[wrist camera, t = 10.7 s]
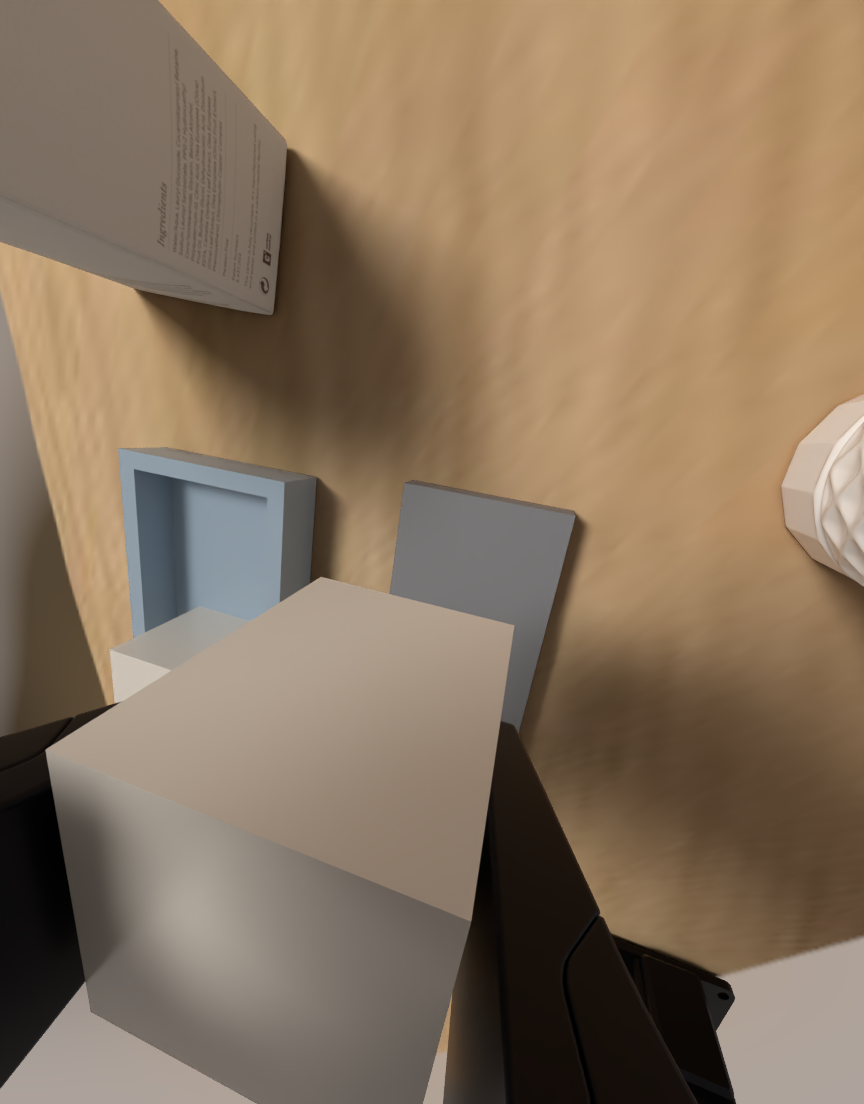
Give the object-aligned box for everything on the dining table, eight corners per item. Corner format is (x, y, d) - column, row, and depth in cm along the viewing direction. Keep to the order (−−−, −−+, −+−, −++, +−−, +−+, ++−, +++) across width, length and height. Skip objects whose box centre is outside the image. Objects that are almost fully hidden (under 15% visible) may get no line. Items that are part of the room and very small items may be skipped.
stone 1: (260, 687, 23) (188, 751, 18) (200, 668, 24) (116, 724, 19) (262, 624, 22) (186, 675, 17) (199, 606, 22) (109, 649, 18)
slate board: (493, 818, 22) (490, 839, 21) (372, 776, 23) (363, 793, 22) (573, 510, 17) (575, 515, 16) (412, 480, 18) (404, 482, 17)
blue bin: (300, 727, 24) (273, 760, 21) (177, 685, 25) (138, 711, 23) (316, 477, 19) (284, 482, 17) (167, 447, 21) (118, 448, 19)
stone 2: (475, 789, 9) (401, 1183, 4) (309, 733, 10) (90, 1011, 5) (514, 625, 8) (472, 921, 3) (320, 576, 8) (44, 749, 4)
